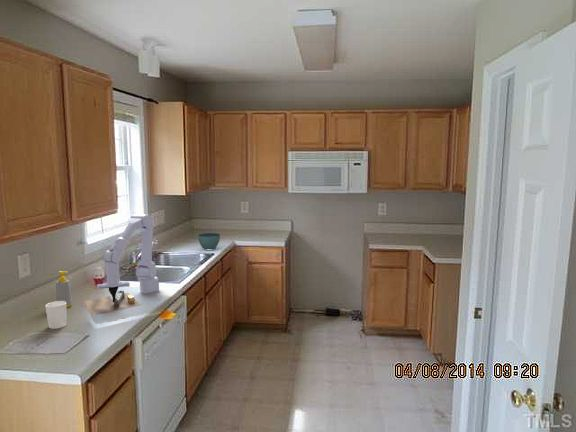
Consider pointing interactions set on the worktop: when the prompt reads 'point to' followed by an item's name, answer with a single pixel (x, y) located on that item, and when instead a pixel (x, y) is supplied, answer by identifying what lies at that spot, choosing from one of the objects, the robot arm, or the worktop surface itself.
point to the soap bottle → (63, 290)
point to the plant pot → (209, 240)
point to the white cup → (56, 314)
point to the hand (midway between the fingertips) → (114, 301)
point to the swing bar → (118, 298)
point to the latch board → (108, 304)
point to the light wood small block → (131, 299)
